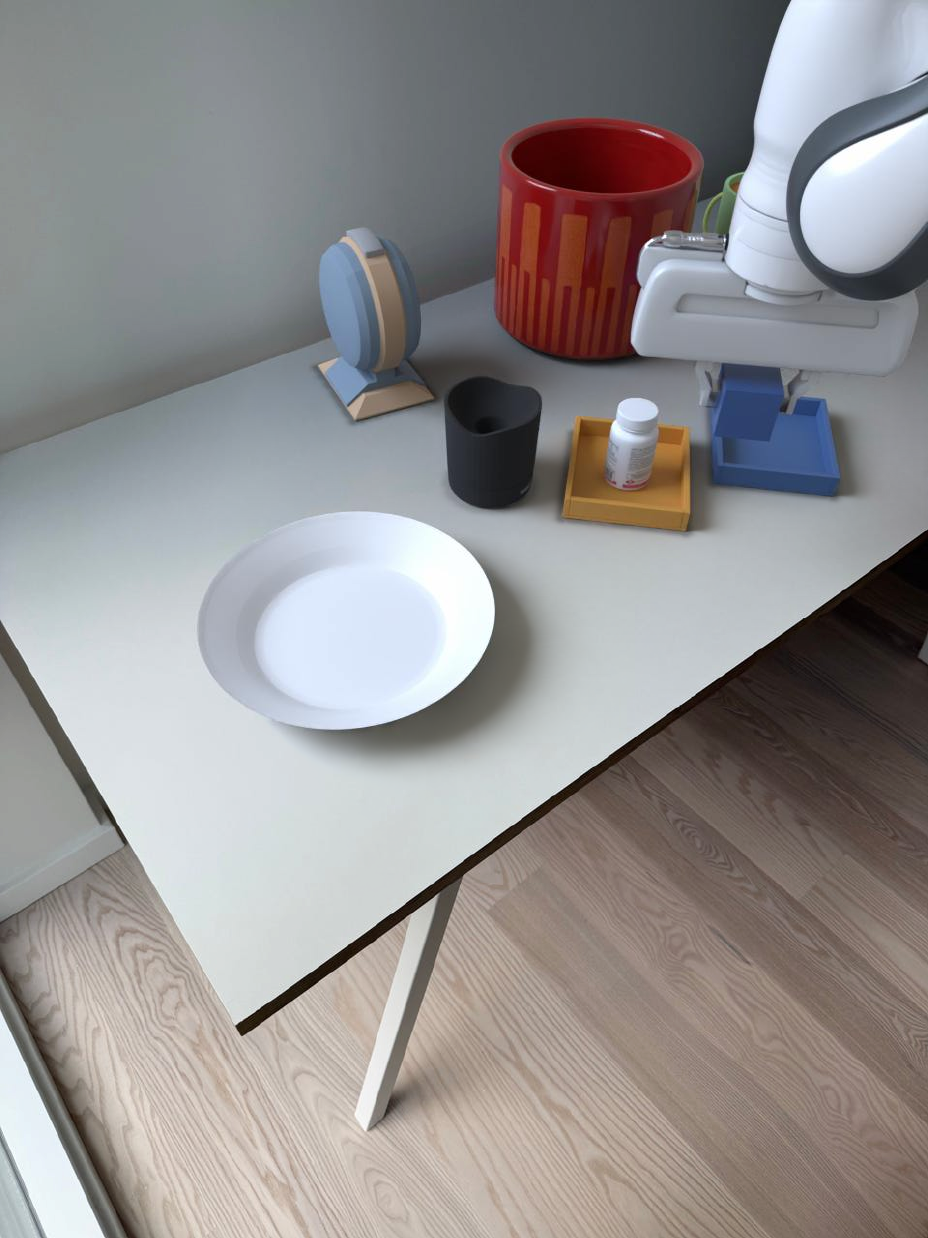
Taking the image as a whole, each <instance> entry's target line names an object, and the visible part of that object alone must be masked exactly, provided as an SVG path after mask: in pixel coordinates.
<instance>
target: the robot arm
mask: <svg viewBox="0 0 928 1238" xmlns="http://www.w3.org/2000/svg"><path fill="white" fill-rule="evenodd" d="M756 105H757V106H756V110H755V115H754V118H753V137H754V138H753V139H754V140H753V141H754V143H753V150H752V155H751V158H750V160H749V163H748V166H747V168H746V169H745V171H744V172H745V173H744V175H743V177H742V179H741V182H740V185H739V189H738V193H737V197H736V202H735V206H734V211H733V215H732V219H731V224H730V228H729V233H727V234H719V233H718V234H716V233H714V232H708V233H703V232H692V233H683V231H676V230H671V231H665V232H664V234H663V236H657V237H654V238H652V239H651V240H649V241H648V242H647V243H646V244H645V245H644V246H643V247H642V249H641V251H640V253H639V258H638V265H637V271H636V276H637V280H638V283H639V285H640V286H641V290H640V293H639V296H638V300H637V303H636V307H635V312H634V316H633V322H632V329H631V344H632V345H633V347H634V348H635V350H636V351H637V353H636V354H638V355H639V356H642V357H649V358H650V357H651V358H662V359H674V360H685V361H693V364H694V373H695V376H696V377H697V379H698V382H699V384H700V391H699V407H701V408H710V407H712V408H717V407H718V404H719V400H720V396H721V392H722V389H721V379H718V378H712V375H711V373H712V372H713V371H714V367H715V363H717V364H722V363H730V364H741V365H753V366H764V367H775V368H780V369H789V370H798V371H799V372H798V373H797V374H796V375H795V376H794V377H793V378H792V379H791V380H790V381H789V382H788V383H787V384H783V389H784V397H783V400H782V404H781V407H780V410H779V414H788V415H792V413H793V410H794V407H795V404H796V401H797V398H800V397H801V396H802V397H803V395H805V394H807V392H808V391H810V390H811V389H812V388H813V387H814V386H815V385H817V384H818V383H819V381H820V378H821V376H822V373H832V374H833V373H834V374H843V375H844V374H845V375H857V376H867V377H878V378H885V377H887V376H889V375H891V374H893V373H895V371H897V370H898V369H899V368H901V367H902V365H903V363H904V361H905V360H906V356H907V354H908V351H909V349H910V346H911V342H912V339H913V336H914V333H915V329H916V326H917V321H918V316H919V302H918V299H917V295H916V293H915V291H916V290H917V289H918V288H920V286H922V285H923V284H924V283H926V282H927V281H928V0H790V2H789V3H788V6H787V8H786V11H785V12H784V16H783V18H782V21H781V23H780V24H779V28H778V32H777V34H776V37H775V41H774V43H773V47H772V50H771V52H770V56H769V59H768V63H767V67H766V71H765V74H764V77H763V81H762V85H761V89H760V93H759V98H758V101H757V104H756ZM658 242H662V244H655V243H658ZM724 249H725V250H724Z"/></svg>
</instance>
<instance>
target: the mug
mask: <svg viewBox="0 0 928 1238" xmlns="http://www.w3.org/2000/svg"><path fill="white" fill-rule="evenodd" d="M744 173H745V171H742V172H737V173H734V174H732V175H730V176H728V177H727V178H726V180H725V181H724V185H723V190H722V191H721V192H720V193H718V194H716V195H715V196H714V197H713V198H712V199H711V201H710V202H709V203H708V205H707V207H706V209H705V212H704V213H703V214H704V215H703V219H702V233H709V229H708V222H709V218H710V217H709V216H710V214H711V211H712V209H713V207H714V205H716V203H717V202H718V201H720V203H719V207H718V212H717V217H716V221H715V227H714V232H713V233H716V234H718V233H719V234H727V233H729V228H730V224H731V219H732V215H733V211H734V206H735V202H736V197H737V193H738V189H739V185H740V182H741V179H742V177H743V175H744ZM724 250H725V249H724Z"/></svg>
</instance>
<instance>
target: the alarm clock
mask: <svg viewBox="0 0 928 1238" xmlns="http://www.w3.org/2000/svg"><path fill="white" fill-rule="evenodd" d="M345 233H346V236H342V237H341V239H340V240H339V241H338V242H336V243H333V244H331V245H330V246H329V248H328V249H327V250H326V251H324V253H323V254H322V256H321V258H320V263H319V268H318V269H319V270H318V285H319V294H320V301H321V305H322V310H323V315H324V318H325V322H326V325H327V328H328V331H329V334H330V336H331V339H332V341H333V343H334V345H335V347H336V349H337V351H338V353H339V354H340V356H339V357H336V358H333V359H331V360H330V359H329V360H327V361H325V362H322V363H319V364H317V367H318V369H319V371H320V372H321V374H322V375H323V376H324V377H325V379H326V380H327V382H328V383H329V385H330V386H331V388H332V389H333V391H334V393H335V394H336V395H337V397H338V398H339V399H340V401H341V403H342V404H343V405H344V407H345V408H346V410H347V411H348V413H349V414H350V416H351V417H352V418H353V420H354V421H355V422H357V421H362V420H366V419H368V418H373V417H376V416H380V415H383V414H387V413H391V412H394V411H398V410H401V409H405V408H409V407H412V406H416V405H420V404H423V403H427V402H431V401H435V399H436V398H435V396H434V395H433V394H432V393H431V391H430V390H429V389H428V388H427V386H426V385H427V384H426V383H425V381H423V379H422V378H421V377H420V375H419V374H418V373H417V372H416V371H415V369H414V368H413V367H412V366H411V364H410V363H409V361H407V359H409V358H411V356H412V355H413V354H414V353H415V352H416V350H417V349H418V347H419V345H420V339H421V335H422V334H421V333H422V313H421V304H420V299H419V292H418V289H417V285H416V281H415V278H414V274H413V272H412V270H411V267H410V265H409V263H408V261H407V259H406V257H405V255H404V253H403V252H402V250H401V249H400V248H399V246H398V245H397V243H395V242H394V241H392V240H391V239H389V238H387V237H385V236H383V235H376V234H375V232H373V231H372V230H371V229H369V228H367V227H364V226H362V227H358V228H352V229H348V230H346V231H345Z"/></svg>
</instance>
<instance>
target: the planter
mask: <svg viewBox="0 0 928 1238" xmlns="http://www.w3.org/2000/svg"><path fill="white" fill-rule="evenodd" d="M498 167H499V168H498V188H497V189H498V191H497V192H498V193H497V212H496V214H497V216H496V237H495V238H496V245H495V266H494V267H495V269H494V270H495V271H494V272H495V273H494V299H493V300H494V301H493V311H494V315H495V318H496V320H497V322H498V323H499V325H500V326H501V328H502V329H503V330H504V331H505V332H506V333H507V334H508V335H509V336H510V337H512V338H513V339H515V340H516V341H517V342H519V343H521V344H523V345H524V346H526V347H528V348H530V349H533V350H535V351H538V352H539V353H543V354H546V355H550V356H553V357H558V358H563V359H569V360H576V361H577V360H578V361H605V360H606V361H608V360H614V359H621V358H625V357H630V356H633V355H635V354H638V353H637V351H636V350H635V348H634V347H633V345H632V344H631V329H632V322H633V316H634V312H635V307H636V303H637V300H638V296H639V293H640V290H641V286H640V285H639V283H638V280H637V276H636V271H637V265H638V258H639V253H640V251H641V249H642V247H643V246H644V245H645V244H646V243H647V242H648V241H649V240H651V239H652V238H654V237H657V236H663V234H664V232H665V231H671V230H676V231H683V233H693V228H694V224H695V223H694V222H695V217H696V213H697V206H698V200H699V196H700V191H701V184H702V179H703V176H704V175H703V174H704V169H705V160H704V157H703V154H702V152H701V151H700V150H699V149H698V148H697V146H696V145H695V144H693V143H692V142H691V141H689V140H688V139H687V138H685V137H683V136H682V135H680V134H677V133H675V132H673V131H671V130H668V129H665V128H662V127H660V126H656V125H653V124H649V123H645V122H640V121H636V120H630V119H622V118H615V117H614V118H612V117H595V116H594V117H593V116H591V117H589V116H585V117H584V116H583V117H568V118H559V119H553V120H547V121H543V122H539V123H535V124H533V125H530V126H526V127H524V128H522V129H520V130H518V131H516V132H515V133H513V134H512V135H510V136H508V137H507V139H506V140H505V141H504V142H503V144H502V145H501V148H500V150H499V166H498ZM655 244H662V242H658V243H655Z"/></svg>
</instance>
